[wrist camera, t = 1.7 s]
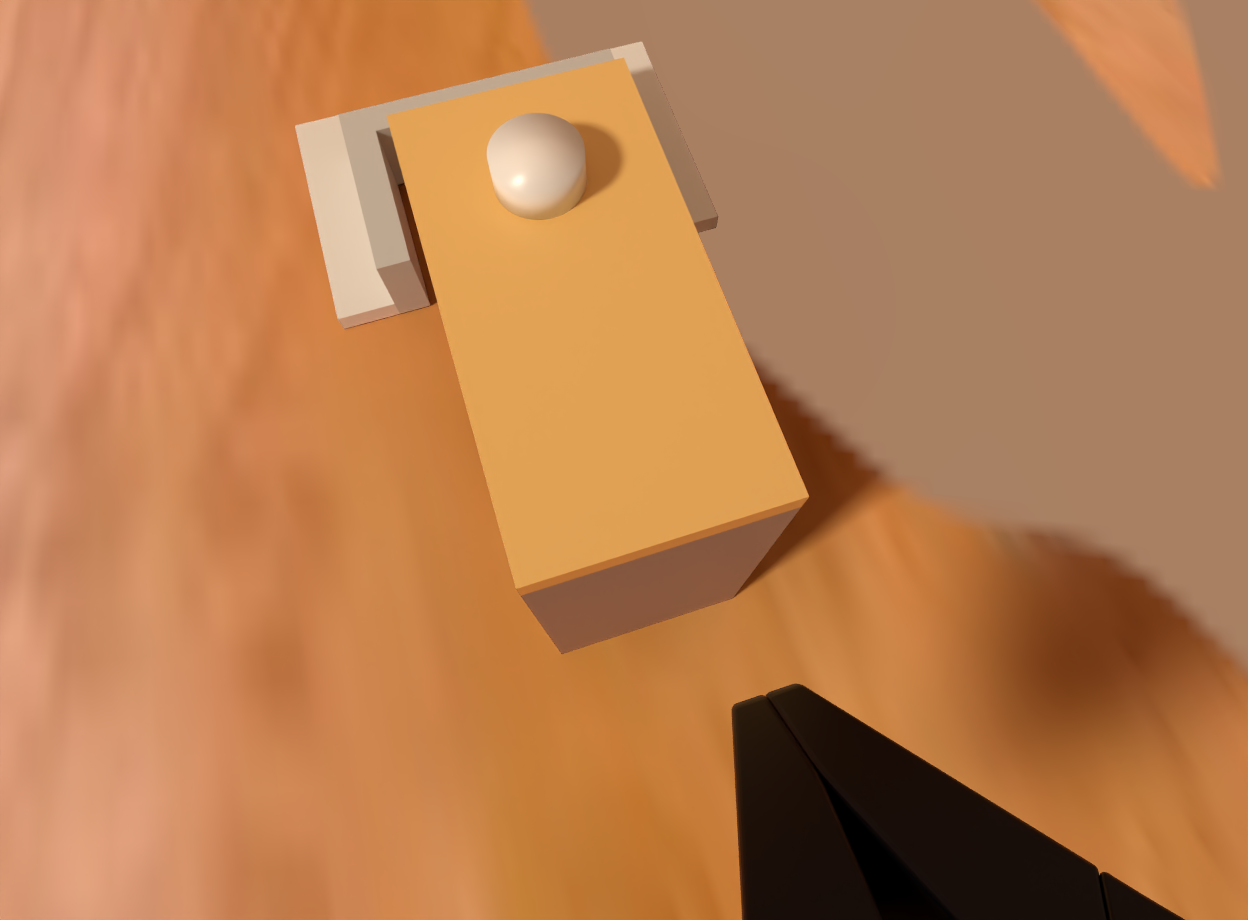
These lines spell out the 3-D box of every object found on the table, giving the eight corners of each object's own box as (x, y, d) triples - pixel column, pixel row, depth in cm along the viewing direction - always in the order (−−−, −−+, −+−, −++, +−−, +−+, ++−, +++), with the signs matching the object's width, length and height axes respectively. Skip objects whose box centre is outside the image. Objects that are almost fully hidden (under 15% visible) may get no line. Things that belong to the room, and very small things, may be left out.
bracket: (716, 227, 26) (725, 176, 24) (344, 328, 25) (314, 285, 22) (641, 55, 29) (642, -7, 26) (301, 138, 27) (271, 81, 25)
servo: (732, 598, 22) (820, 480, 12) (561, 654, 21) (508, 579, 11) (624, 304, 25) (624, 24, 15) (473, 346, 24) (374, 83, 15)
